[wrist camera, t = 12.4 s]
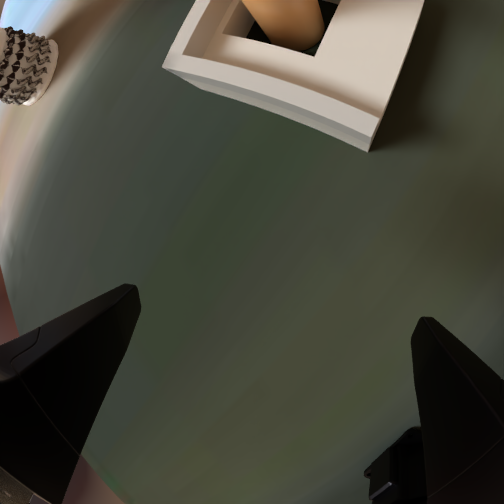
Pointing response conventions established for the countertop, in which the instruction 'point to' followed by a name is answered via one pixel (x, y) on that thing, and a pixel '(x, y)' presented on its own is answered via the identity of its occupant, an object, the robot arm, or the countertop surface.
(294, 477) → the countertop surface
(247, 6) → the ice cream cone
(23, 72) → the decorative candle
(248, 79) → the housing
